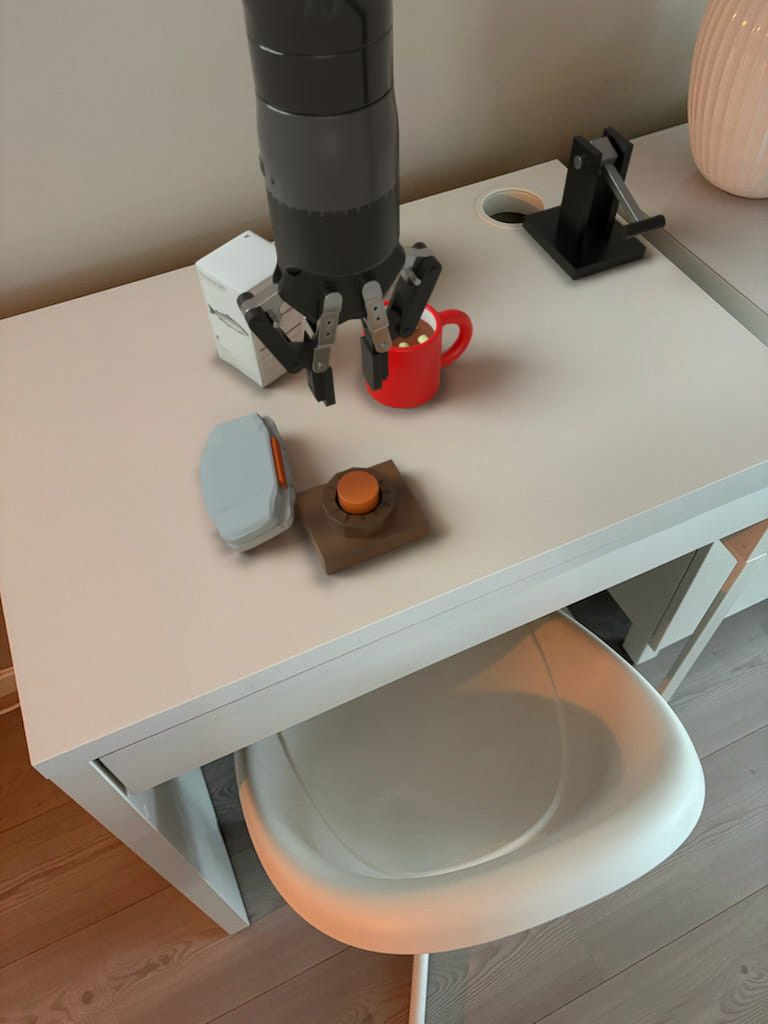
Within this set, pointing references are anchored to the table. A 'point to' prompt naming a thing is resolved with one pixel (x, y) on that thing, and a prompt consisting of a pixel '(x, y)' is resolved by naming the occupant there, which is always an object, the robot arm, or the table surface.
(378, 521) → the button block
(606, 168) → the lever
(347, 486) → the button
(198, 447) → the table surface
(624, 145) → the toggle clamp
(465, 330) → the mug
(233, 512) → the grey case
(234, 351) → the white packaging box
